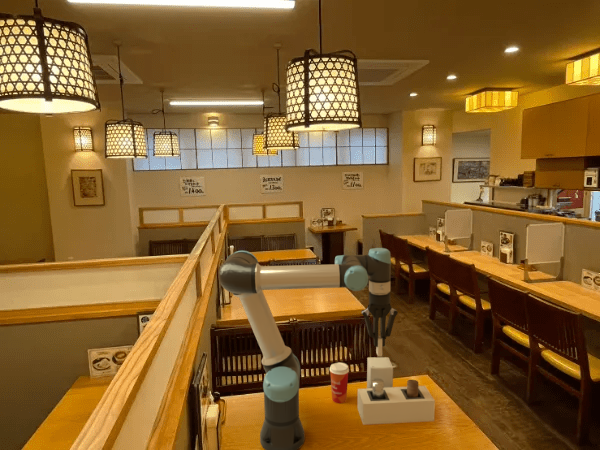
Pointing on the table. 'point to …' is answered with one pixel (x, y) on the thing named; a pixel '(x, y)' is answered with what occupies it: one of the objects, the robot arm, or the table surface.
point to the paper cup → (339, 382)
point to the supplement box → (379, 371)
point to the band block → (395, 406)
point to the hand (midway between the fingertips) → (379, 354)
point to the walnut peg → (412, 388)
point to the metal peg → (377, 389)
